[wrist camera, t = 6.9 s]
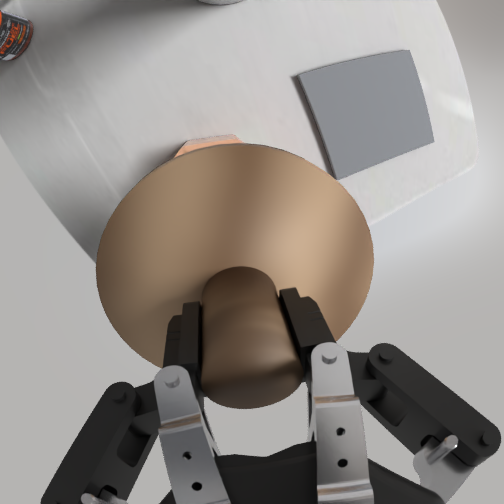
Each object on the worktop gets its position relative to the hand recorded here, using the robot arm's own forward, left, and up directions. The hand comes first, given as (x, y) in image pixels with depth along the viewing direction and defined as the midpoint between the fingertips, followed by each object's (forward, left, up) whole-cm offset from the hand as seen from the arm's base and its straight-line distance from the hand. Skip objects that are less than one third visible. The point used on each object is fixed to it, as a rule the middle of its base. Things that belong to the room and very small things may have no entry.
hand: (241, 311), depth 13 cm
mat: (-19, -8, -21) cm, 29 cm away
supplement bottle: (+24, -26, -21) cm, 41 cm away
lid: (0, 0, -2) cm, 2 cm away
